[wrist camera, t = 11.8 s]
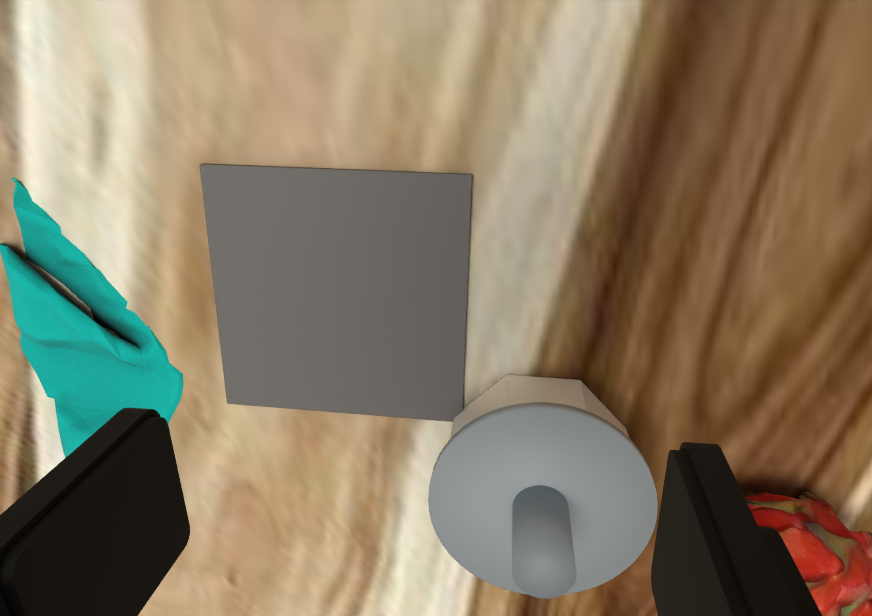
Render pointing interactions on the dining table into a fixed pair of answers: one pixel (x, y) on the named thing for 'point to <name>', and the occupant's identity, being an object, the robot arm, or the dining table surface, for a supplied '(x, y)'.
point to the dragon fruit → (821, 550)
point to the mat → (340, 287)
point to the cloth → (82, 334)
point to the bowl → (534, 398)
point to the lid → (542, 499)
